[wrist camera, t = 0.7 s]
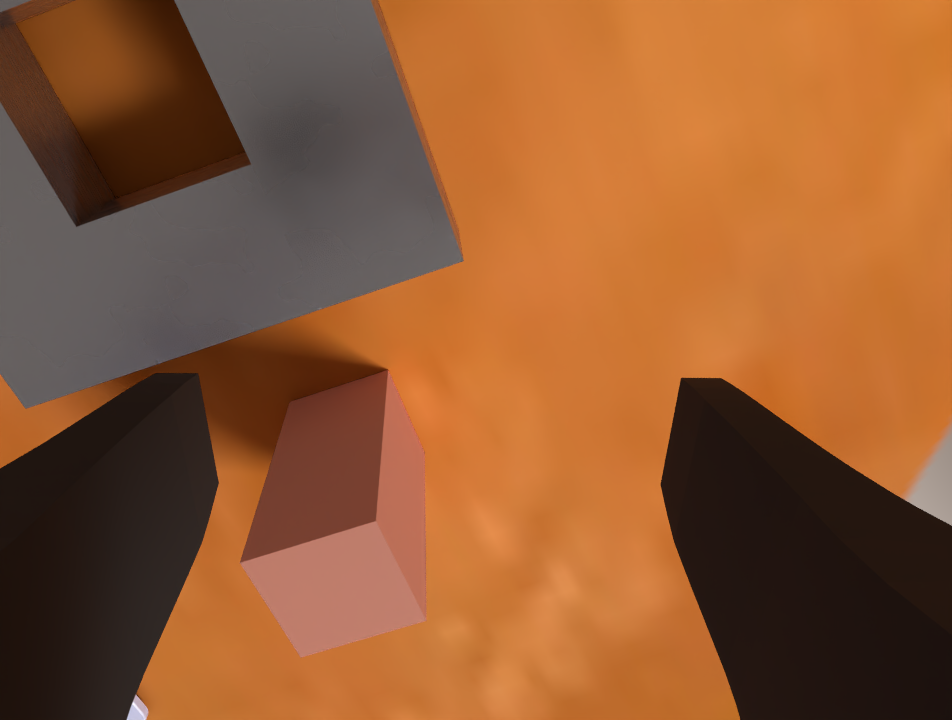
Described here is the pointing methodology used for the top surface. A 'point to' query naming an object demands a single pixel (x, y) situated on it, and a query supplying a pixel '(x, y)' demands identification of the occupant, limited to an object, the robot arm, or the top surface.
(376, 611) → the reddish brown rectangular block
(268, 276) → the gray slotted base
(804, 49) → the top surface
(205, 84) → the top surface
